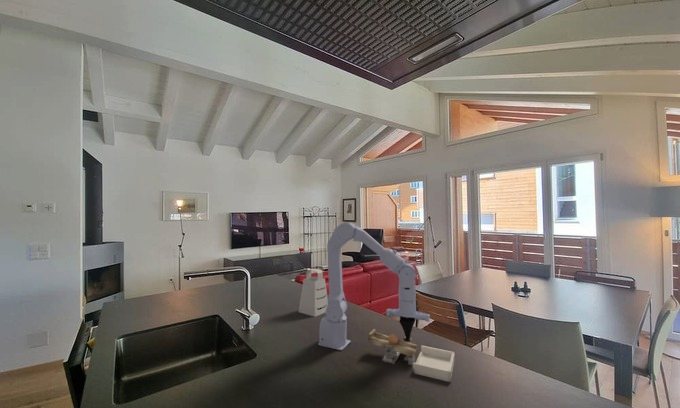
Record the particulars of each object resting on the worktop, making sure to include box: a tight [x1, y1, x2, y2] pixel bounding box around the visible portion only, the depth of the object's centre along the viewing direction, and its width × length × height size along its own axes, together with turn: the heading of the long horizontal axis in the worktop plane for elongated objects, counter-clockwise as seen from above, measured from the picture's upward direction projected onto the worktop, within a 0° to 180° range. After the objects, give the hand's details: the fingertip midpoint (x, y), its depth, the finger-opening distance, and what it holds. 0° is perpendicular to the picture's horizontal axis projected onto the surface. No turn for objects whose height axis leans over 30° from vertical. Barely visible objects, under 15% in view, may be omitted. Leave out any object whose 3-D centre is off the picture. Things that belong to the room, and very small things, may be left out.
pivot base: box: [381, 344, 416, 366], centre depth 94 cm, size 9×8×5 cm
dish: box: [412, 345, 456, 383], centre depth 89 cm, size 10×13×3 cm
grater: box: [298, 268, 328, 318], centre depth 140 cm, size 10×10×20 cm
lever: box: [367, 328, 418, 357], centre depth 97 cm, size 15×11×3 cm
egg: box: [388, 333, 399, 345], centre depth 95 cm, size 3×3×3 cm
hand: (408, 339), depth 99 cm, fingers closed, pressing on lever
